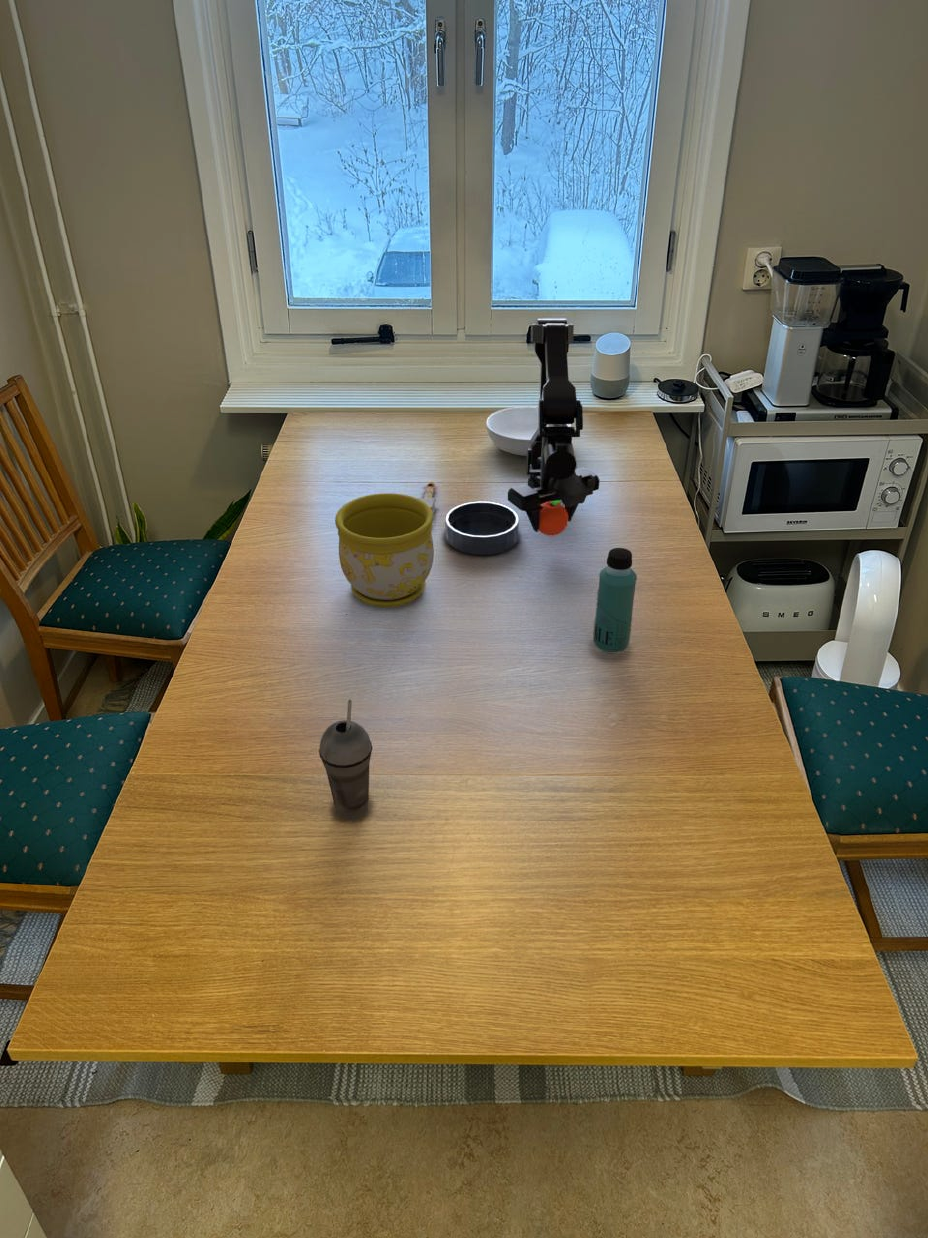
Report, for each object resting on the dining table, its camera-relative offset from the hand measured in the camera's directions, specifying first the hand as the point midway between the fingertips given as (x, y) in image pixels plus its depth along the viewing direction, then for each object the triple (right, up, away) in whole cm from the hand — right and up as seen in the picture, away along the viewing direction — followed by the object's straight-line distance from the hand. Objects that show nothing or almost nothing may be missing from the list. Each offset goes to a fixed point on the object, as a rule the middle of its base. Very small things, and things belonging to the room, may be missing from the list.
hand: (551, 525), depth 188 cm
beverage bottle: (+8, -25, -26) cm, 36 cm away
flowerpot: (-33, -14, -10) cm, 37 cm away
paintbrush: (-26, +5, +17) cm, 32 cm away
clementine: (0, -1, +1) cm, 2 cm away
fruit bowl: (-14, -2, +6) cm, 16 cm away
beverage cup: (-34, -46, -56) cm, 80 cm away
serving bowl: (-2, +24, +43) cm, 49 cm away
